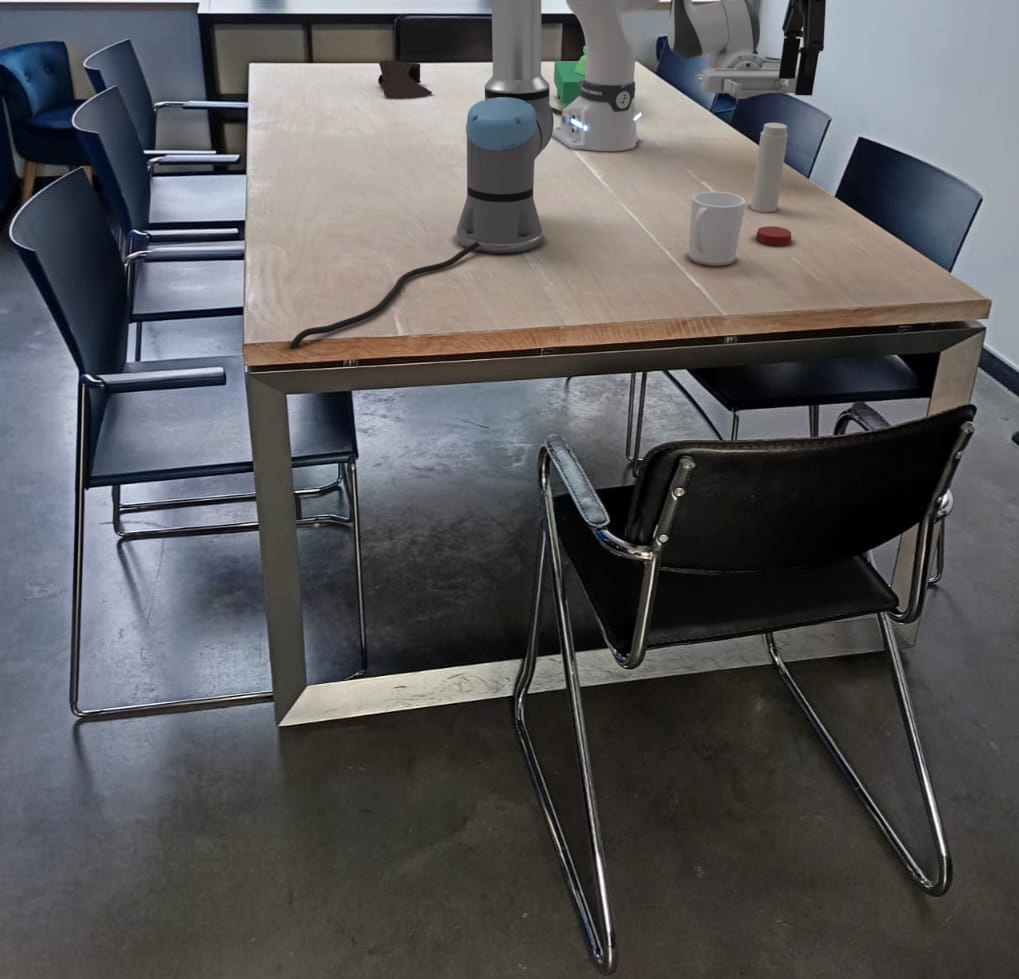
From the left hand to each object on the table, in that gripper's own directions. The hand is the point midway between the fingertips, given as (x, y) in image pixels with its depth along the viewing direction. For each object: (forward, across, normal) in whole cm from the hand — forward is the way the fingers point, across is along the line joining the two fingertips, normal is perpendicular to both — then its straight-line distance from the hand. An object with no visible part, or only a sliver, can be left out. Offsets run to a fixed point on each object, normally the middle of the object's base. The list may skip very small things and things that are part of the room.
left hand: (794, 86), depth 185 cm
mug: (+27, -12, +13) cm, 32 cm away
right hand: (+7, +31, -1) cm, 31 cm away
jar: (+27, +19, -2) cm, 33 cm away
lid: (+26, 0, 0) cm, 26 cm away
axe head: (+27, +119, +79) cm, 145 cm away
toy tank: (+27, +110, +28) cm, 116 cm away
